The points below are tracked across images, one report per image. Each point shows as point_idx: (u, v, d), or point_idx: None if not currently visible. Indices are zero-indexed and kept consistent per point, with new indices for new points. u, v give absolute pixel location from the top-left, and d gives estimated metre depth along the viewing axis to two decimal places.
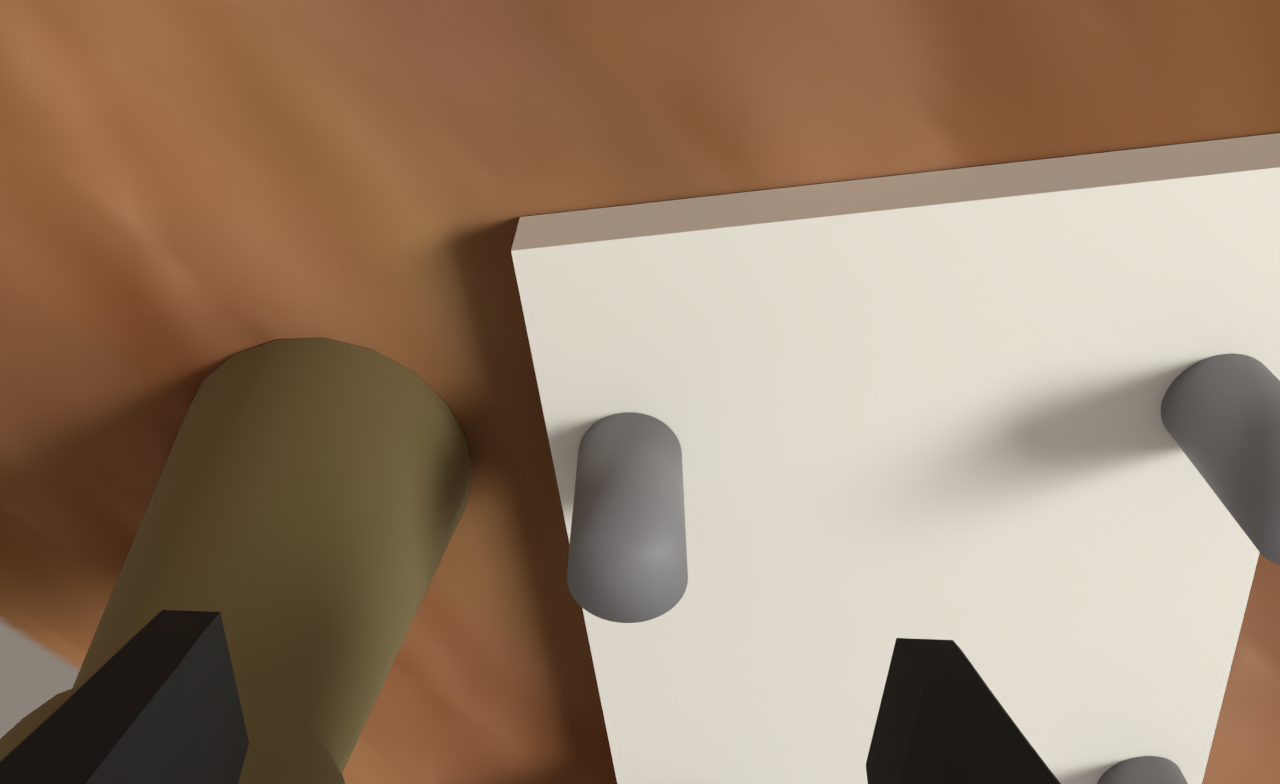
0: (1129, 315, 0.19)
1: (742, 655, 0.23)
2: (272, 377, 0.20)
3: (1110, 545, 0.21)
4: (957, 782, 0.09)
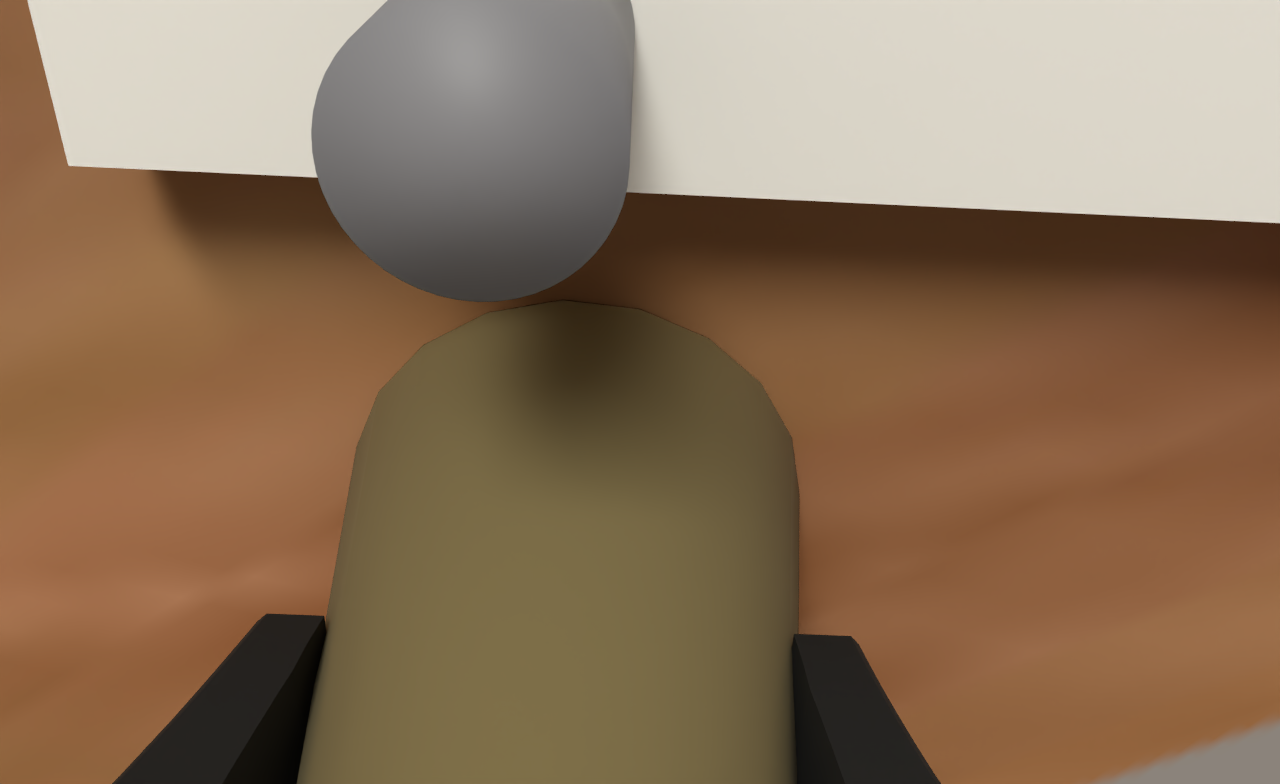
0: None
1: None
2: None
3: None
4: (834, 778, 0.09)
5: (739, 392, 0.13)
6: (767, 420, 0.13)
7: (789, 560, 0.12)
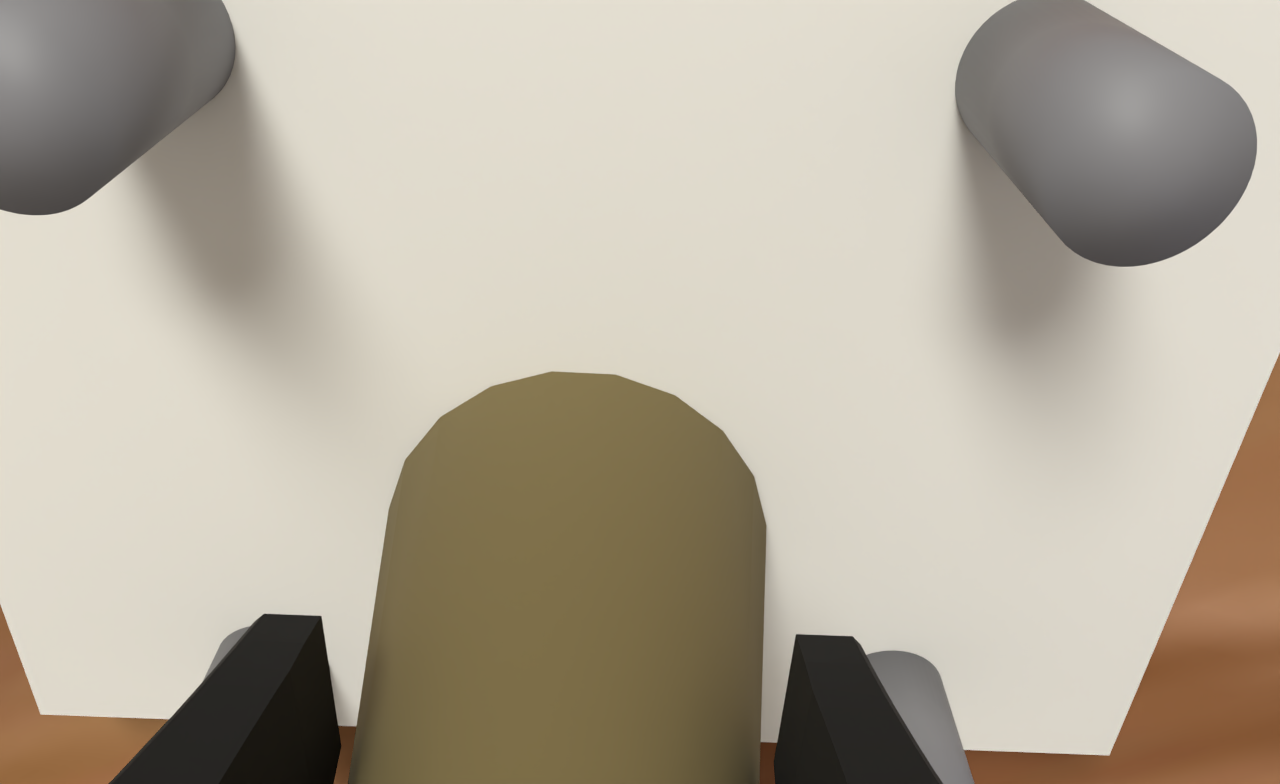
0: None
1: None
2: None
3: (431, 165, 0.14)
4: (837, 777, 0.09)
5: (702, 437, 0.15)
6: (729, 459, 0.16)
7: (750, 570, 0.14)
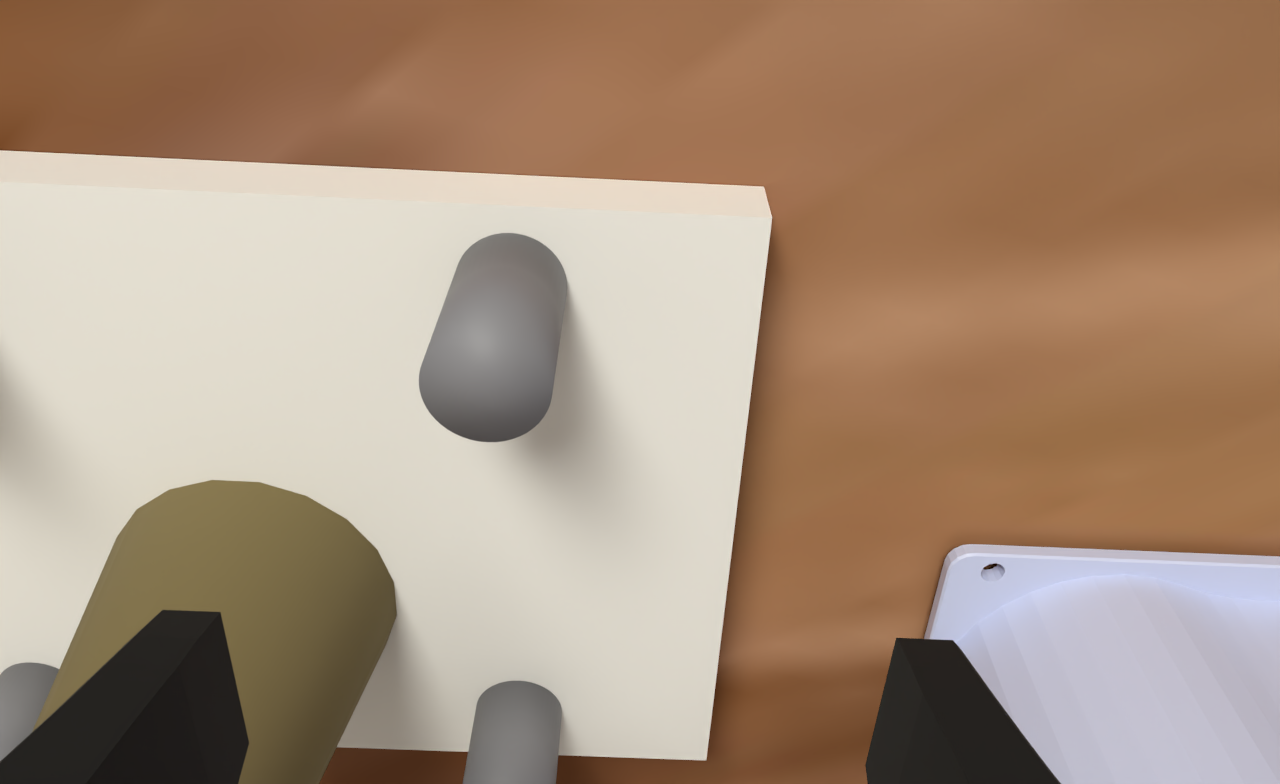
0: None
1: None
2: None
3: (97, 342, 0.19)
4: (957, 782, 0.09)
5: (322, 529, 0.21)
6: (345, 543, 0.21)
7: (335, 633, 0.20)
